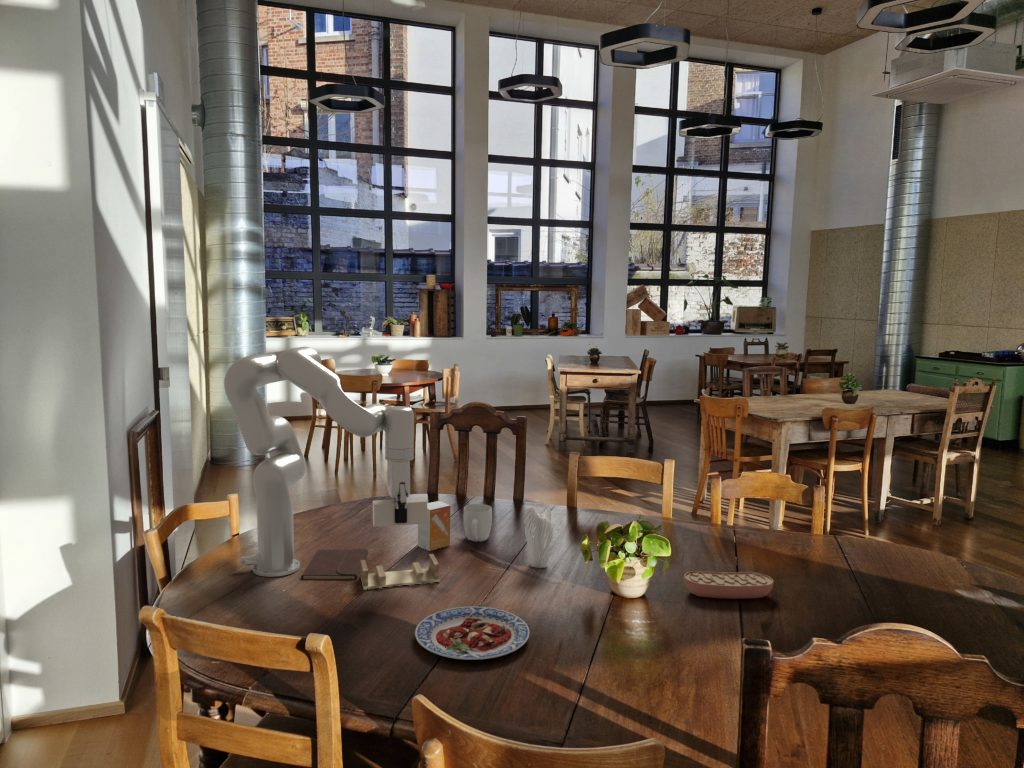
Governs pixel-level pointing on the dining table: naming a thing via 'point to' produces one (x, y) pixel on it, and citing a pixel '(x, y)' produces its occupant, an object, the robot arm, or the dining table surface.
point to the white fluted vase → (538, 536)
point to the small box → (435, 527)
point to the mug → (477, 521)
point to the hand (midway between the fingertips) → (399, 519)
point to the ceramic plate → (472, 633)
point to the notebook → (335, 564)
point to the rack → (400, 575)
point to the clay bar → (386, 512)
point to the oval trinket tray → (728, 584)
